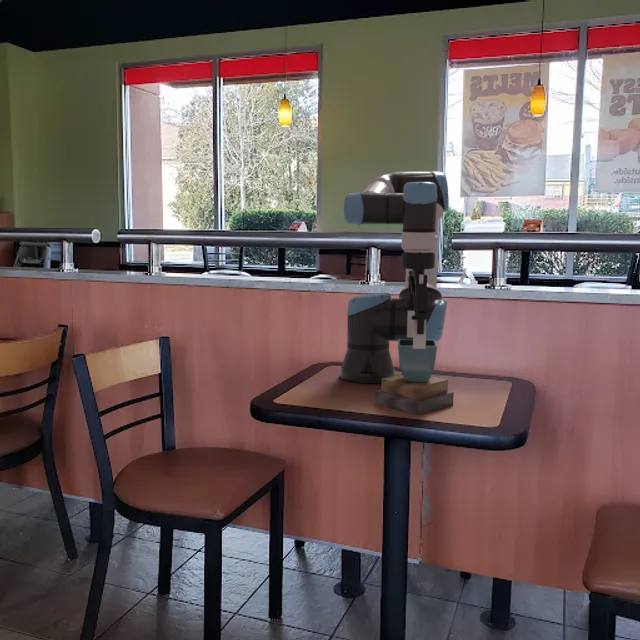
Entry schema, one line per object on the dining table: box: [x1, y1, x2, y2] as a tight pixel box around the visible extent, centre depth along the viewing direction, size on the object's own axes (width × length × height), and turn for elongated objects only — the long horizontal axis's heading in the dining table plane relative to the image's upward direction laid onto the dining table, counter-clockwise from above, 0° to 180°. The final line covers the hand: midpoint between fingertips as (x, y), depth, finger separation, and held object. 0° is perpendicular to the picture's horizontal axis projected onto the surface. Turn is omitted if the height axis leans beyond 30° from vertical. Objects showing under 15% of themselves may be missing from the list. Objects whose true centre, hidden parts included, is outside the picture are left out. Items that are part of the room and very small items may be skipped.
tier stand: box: [374, 373, 455, 416], centre depth 153 cm, size 13×13×6 cm
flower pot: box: [397, 339, 438, 382], centre depth 151 cm, size 9×9×9 cm
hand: (415, 342), depth 151 cm, fingers open, 13 cm apart
